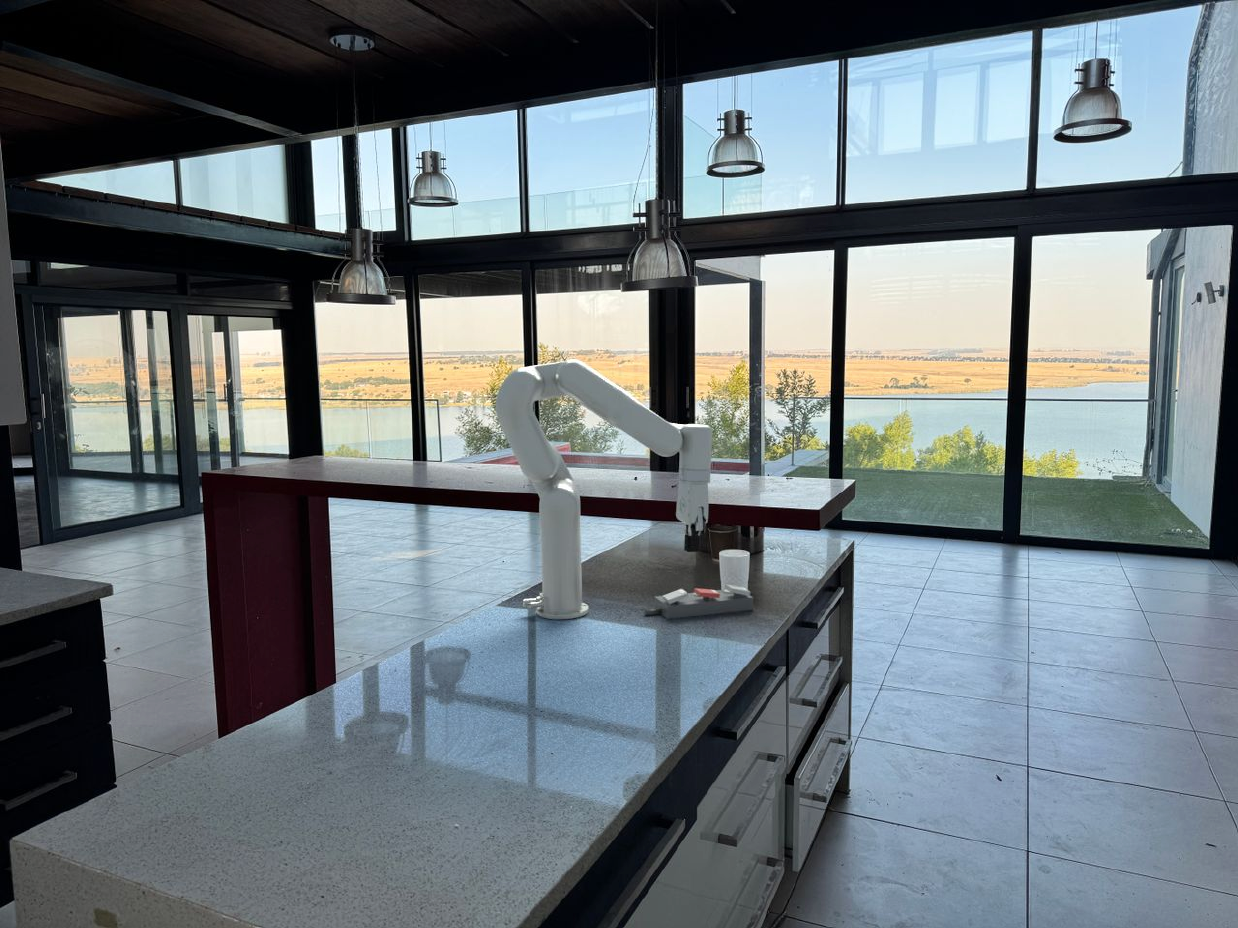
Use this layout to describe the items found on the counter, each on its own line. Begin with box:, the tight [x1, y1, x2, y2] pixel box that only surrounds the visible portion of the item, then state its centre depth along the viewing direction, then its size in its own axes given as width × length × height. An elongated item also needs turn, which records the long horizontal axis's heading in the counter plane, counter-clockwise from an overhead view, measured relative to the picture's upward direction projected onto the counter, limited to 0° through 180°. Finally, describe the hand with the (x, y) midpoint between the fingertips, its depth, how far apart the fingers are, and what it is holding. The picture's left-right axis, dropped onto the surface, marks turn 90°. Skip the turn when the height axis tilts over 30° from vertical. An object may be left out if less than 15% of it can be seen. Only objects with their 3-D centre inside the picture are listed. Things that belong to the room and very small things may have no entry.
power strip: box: [643, 589, 754, 620], centre depth 207 cm, size 26×9×4 cm, turn 107°
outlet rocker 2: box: [693, 587, 720, 598], centre depth 206 cm, size 5×4×1 cm
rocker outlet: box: [725, 584, 751, 596], centre depth 208 cm, size 5×4×1 cm
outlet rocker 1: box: [662, 588, 689, 604], centre depth 203 cm, size 5×4×1 cm
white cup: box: [718, 549, 751, 591], centre depth 224 cm, size 8×8×10 cm
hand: (691, 550), depth 207 cm, fingers closed
